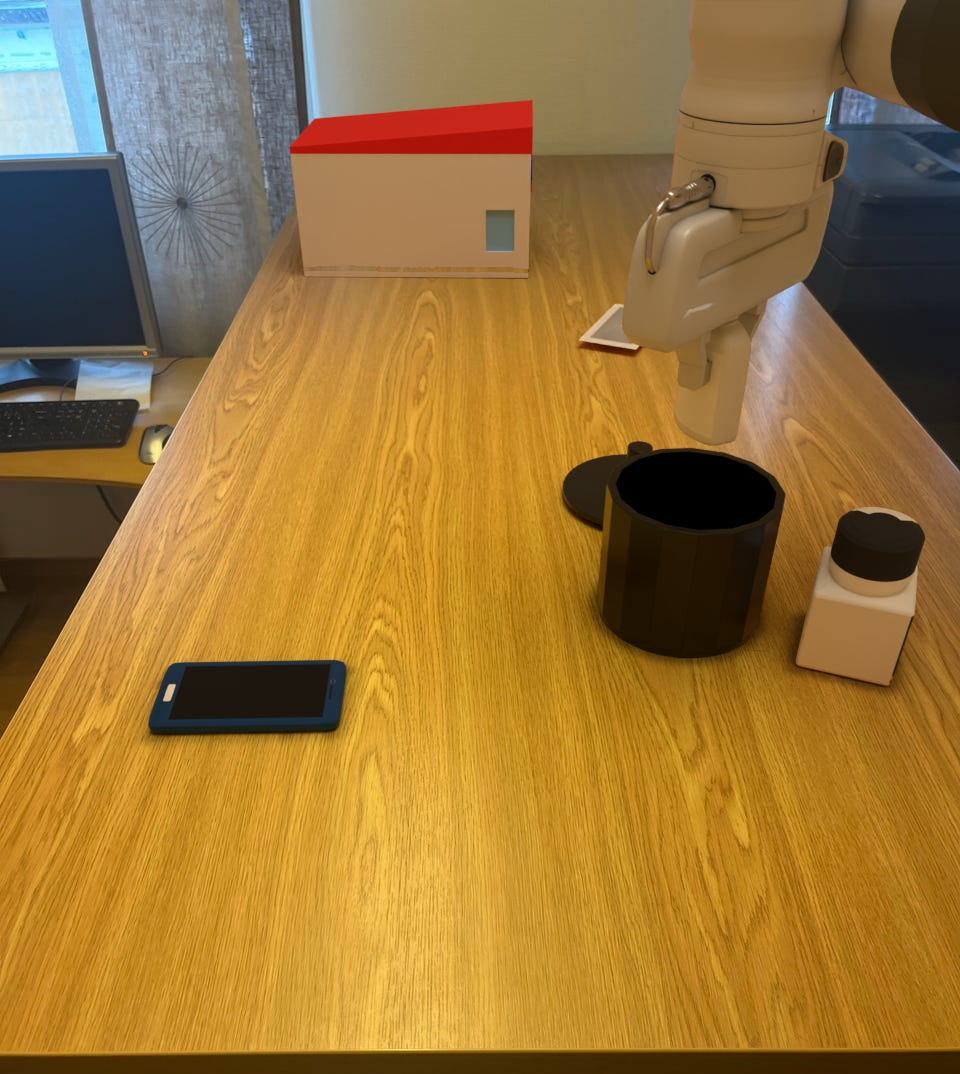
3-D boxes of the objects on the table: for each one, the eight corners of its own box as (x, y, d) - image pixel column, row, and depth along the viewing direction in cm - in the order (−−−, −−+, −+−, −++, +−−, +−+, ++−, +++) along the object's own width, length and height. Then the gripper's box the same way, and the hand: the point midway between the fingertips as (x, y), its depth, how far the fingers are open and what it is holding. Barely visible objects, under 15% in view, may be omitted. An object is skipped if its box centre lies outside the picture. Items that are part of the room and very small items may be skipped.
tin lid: (735, 494, 97) (744, 442, 94) (656, 554, 89) (663, 500, 85) (616, 451, 105) (620, 401, 101) (532, 502, 96) (534, 450, 93)
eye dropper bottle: (675, 447, 70) (697, 278, 63) (672, 413, 75) (692, 252, 67) (737, 449, 70) (766, 280, 63) (730, 415, 74) (756, 253, 67)
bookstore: (530, 278, 150) (534, 127, 137) (304, 276, 151) (287, 126, 138) (530, 238, 166) (534, 99, 153) (326, 237, 167) (312, 100, 154)
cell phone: (169, 669, 76) (168, 661, 76) (348, 666, 76) (347, 658, 76) (146, 734, 70) (144, 726, 70) (339, 730, 71) (338, 723, 70)
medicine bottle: (890, 688, 74) (935, 556, 67) (794, 666, 76) (827, 536, 69) (895, 635, 79) (937, 506, 72) (805, 615, 81) (837, 489, 74)
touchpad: (577, 348, 128) (578, 331, 126) (614, 311, 138) (615, 295, 137) (635, 357, 125) (636, 341, 124) (668, 319, 136) (670, 303, 134)
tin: (787, 602, 83) (815, 483, 76) (705, 680, 75) (728, 555, 68) (654, 547, 90) (668, 432, 83) (566, 612, 82) (573, 492, 75)
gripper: (701, 205, 53) (672, 436, 62) (861, 142, 65) (818, 343, 74) (606, 186, 57) (591, 408, 65) (775, 130, 69) (743, 323, 77)
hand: (713, 373), depth 70 cm, fingers closed on eye dropper bottle, 4 cm apart
